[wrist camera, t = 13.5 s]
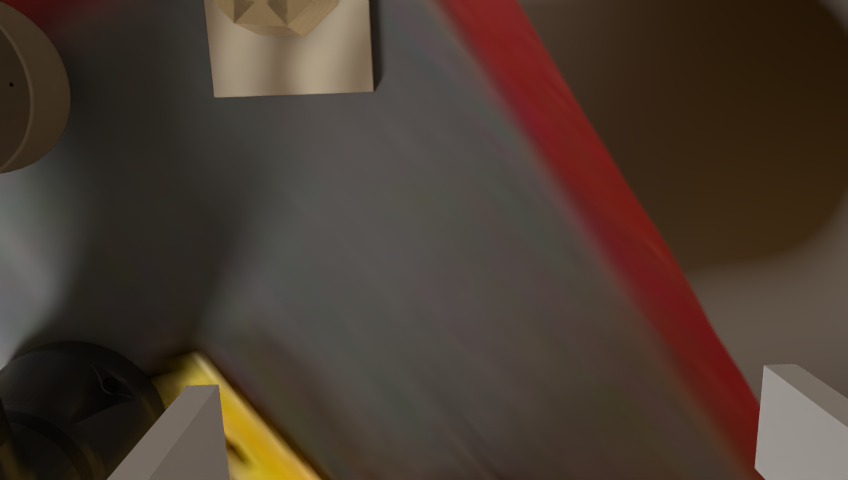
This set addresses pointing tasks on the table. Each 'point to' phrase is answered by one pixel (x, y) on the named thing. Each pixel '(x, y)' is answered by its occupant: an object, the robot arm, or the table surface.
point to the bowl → (29, 92)
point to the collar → (278, 15)
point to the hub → (292, 55)
